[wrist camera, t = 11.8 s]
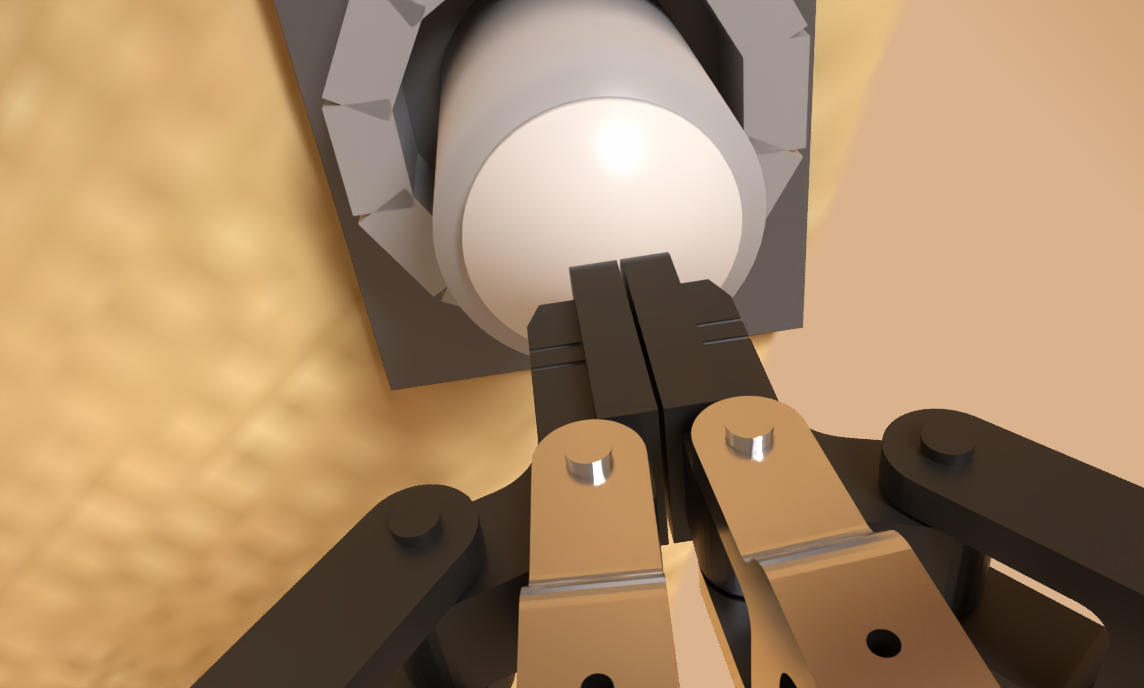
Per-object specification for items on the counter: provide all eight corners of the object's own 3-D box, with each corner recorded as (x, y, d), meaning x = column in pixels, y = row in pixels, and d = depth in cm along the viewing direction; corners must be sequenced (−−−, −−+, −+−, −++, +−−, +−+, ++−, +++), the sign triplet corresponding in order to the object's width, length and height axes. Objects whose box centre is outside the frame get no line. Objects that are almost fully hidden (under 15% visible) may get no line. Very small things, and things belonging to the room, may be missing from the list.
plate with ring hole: (200, -285, 17) (150, -282, 15) (814, -373, 17) (880, -387, 15) (393, 369, 27) (384, 446, 24) (792, 308, 27) (830, 377, 24)
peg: (417, -19, 20) (396, 101, 14) (680, -58, 20) (773, 45, 14) (466, 218, 23) (466, 396, 17) (691, 183, 23) (769, 349, 17)
